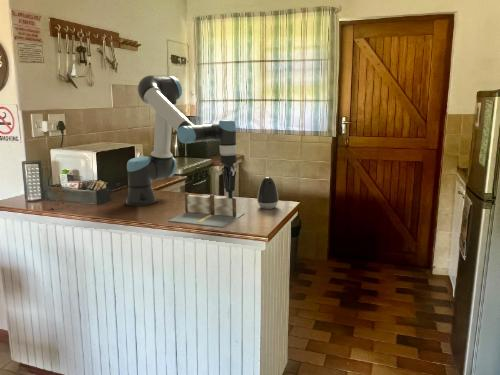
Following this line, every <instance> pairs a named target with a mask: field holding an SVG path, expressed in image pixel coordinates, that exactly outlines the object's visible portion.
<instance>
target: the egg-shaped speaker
mask: <svg viewBox="0 0 500 375" xmlns="http://www.w3.org/2000/svg"><path fill="white" fill-rule="evenodd" d="M256 201H257V204H258V206H259V207H260V208H262V209H264V210H272V209H274V208H275V207H277V205H278V202H279V194H278V189H277V185H276V183H275V181H274V179H273V178H272V177H270V176H266V177H263V179H262V180H261V181H260V184H259V187H258V192H257V198H256Z"/></svg>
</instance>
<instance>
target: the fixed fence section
mask: <svg viewBox="0 0 500 375" xmlns="http://www.w3.org/2000/svg"><path fill="white" fill-rule="evenodd" d="M214 198H215V194H214V193H213V194H209V196H203V195H193V194H192V195H191V194H190V193H189V192H184V207H185V208H184V209H185V212H187V213H194V214H204V215H209V214H211V215H215V207H214ZM185 212H184V213H185Z"/></svg>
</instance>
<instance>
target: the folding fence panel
mask: <svg viewBox="0 0 500 375" xmlns="http://www.w3.org/2000/svg"><path fill="white" fill-rule="evenodd" d="M214 207H215V214H217V215H227V216H236V213H237V198H236V197H233V198H232V199H230V198H225V197H218V196H217V197H215V196H214Z"/></svg>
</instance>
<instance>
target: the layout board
mask: <svg viewBox="0 0 500 375" xmlns="http://www.w3.org/2000/svg"><path fill="white" fill-rule="evenodd" d="M242 216H245V213H243V212H236V216H227V215H217V214H215V215H211V214H209V215H204V214H194V213H187V212H183V213H181V214H179V215H177V216H174V217H172V218H171V219H168V220H167V222H170V223H179V224H189V225H196V226H204V227H214V228H222V229H223V228H225V227H226V226H228V225H230V224H231V223H233V222H235V221H236V220H237V219H240V218H241V217H242Z"/></svg>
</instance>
